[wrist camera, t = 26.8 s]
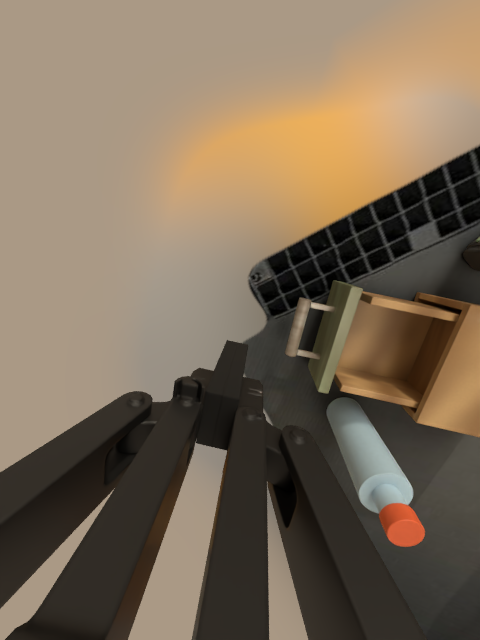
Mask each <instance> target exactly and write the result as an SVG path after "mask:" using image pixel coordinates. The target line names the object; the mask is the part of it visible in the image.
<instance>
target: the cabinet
mask: <svg viewBox="0 0 480 640" xmlns="http://www.w3.org/2000/svg"><path fill="white" fill-rule="evenodd" d="M414 302H418V303H423V304H428V305H432V306H437V307H441V308H445V309H449V310H452V311H456V312H459V313H461V314H460V316H459V318H458V321H457V323H456V325H455V327H454V329H453V332H452V334H451V336H450V338H449V340H448V343H447V345H446V347H445V349H444V351H443V354H442V356H441V358H440V360H439V362H438V365H437V367H436V369H435V371H434V373H433V375H432V378H431V380H430V382H429V384H428V386H427V389H426V391H425V393H424V395H423V397H422V400H421V402H420V404H419V406H418V408H414V407H409V406H405V405H401V406H402V407H403V409H404V410H405V411H406V412H407V413H408V414H409V415H410V416H411V417H412V418H413V420H414V421H415V422H416V423H419V424H424V425H428V426H432V427H437V428H441V429H446V430H450V431H454V432H459V433H463V434H468V435H472V436H477V437H480V305H478V304H474V303H469V302H464V301H459V300H454V299H449V298H444V297H439V296H434V295H429V294H424V293H419V292H417V294H416V296H415V299H414Z"/></svg>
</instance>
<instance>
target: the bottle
mask: <svg viewBox="0 0 480 640" xmlns="http://www.w3.org/2000/svg"><path fill="white" fill-rule="evenodd" d="M326 413H327V417H328V420H329V422H330V425H331V428H332V430H333V433H334V435H335V438H336V440H337V443H338V445H339V448H340V451H341V453H342V456H343V458H344V461H345V463H346V466H347V468H348V471H349V473H350V476H351V479H352V481H353V484H354V486H355V489H356V491H357V494H358V496H359V499H360V501H361V503H362V504H363V505H364V506H365V507H366V508H367V509H369V510H371V511H373V512H376V513H379V519H380V521H381V524H382V526H383V528H384V531H385V533H386V535H387V537H388V539H389V540H390V541H391V542H392V543H393V544H395V545H398V546H402V547H409V546H414V545H416V544H418V543H420V542H421V541H422V540H423V538H424V536H425V530H424V527H423V526H422V524H421V522H420V521H419V519H418V517H417V516H416V514H415V512H414V510H413V509H412V508H411V507H409V506H408V505H409V503H410V502H411V500H412V498H413V488H412V486H411V484H410V483H409V481H408V479H407V478H406V476H405V475H404V473H403V472H402V470H401V469H400V467H399V465H398V464H397V462H396V461H395V459H394V458H393V456H392V455H391V453H390V451H389V450H388V448H387V447H386V445H385V444H384V442H383V441H382V439H381V437H380V436H379V434H378V433H377V431H376V430H375V428H374V427H373V425H372V423H371V422H370V420H369V419H368V417H367V416H366V414H365V413H364V411H363V409H362V408H361V406H360V405H359V403H358V402H357V401H355V400H354V399H352V398H348V397H341V398H337V399H335V400H333V401H332V402H331V403H330V404H329V405H328V407H327V412H326Z"/></svg>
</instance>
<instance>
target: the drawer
mask: <svg viewBox="0 0 480 640" xmlns="http://www.w3.org/2000/svg"><path fill="white" fill-rule="evenodd" d="M309 308H314V309H319V310H324V314H323V317H322V320H321V324H320V327H319V330H318V334H317V337H316V341H315V344H314V347H313V351H312V352H309V351H304V350H300V349H298V347H299V344H300V340H301V336H302V333H303V329H304V326H305V322H306V319H307V315H308V311H309ZM460 314H461V313H459V312H456V311H452V310H449V309H445V308H441V307H437V306H432V305H428V304H423V303H418V302H413V301H408V300H403V299H398V298H393V297H389V296H384V295H379V294H374V293H369V292H364V291H363V289H362V288H360V287H356V286H353V285H350V284H347V283H344V282H340V281H335V280H334V281H333V283H332V287H331V290H330V293H329V297H328V300H327V304H326V305H324V304H319V303H314V302H311V300H309V299H305V298H299V301H298V305H297V309H296V312H295V316H294V320H293V324H292V327H291V331H290V335H289V339H288V343H287V346H286V350H285V354H286V355H288V356H291V357H295V356H296V354H297V355H300V356H304V357H309V358H310V361H309V364H308V368H309V370H310V373H311V375H312V378H313V380H314V383H315V385H316V388H317V390H318V392H322V393H326V394H328V393H329V390H330V387H331V384H332V381H333V379H334V381H335V383H336V384H337V386H338V388H339V390H340V391H342V392H347V393H351V394H356V395H360V396H365V397H369V398H374V399H378V400H383V401H387V402H391V403H396V404H400V405H405V406H409V407H414V408H418V406H419V404H420V402H421V400H422V397H423V395H424V393H425V391H426V389H427V386H428V384H429V382H430V380H431V378H432V375H433V373H434V371H435V369H436V367H437V365H438V362H439V360H440V358H441V356H442V354H443V351H444V349H445V347H446V345H447V343H448V340H449V338H450V336H451V334H452V332H453V329H454V327H455V325H456V323H457V321H458V318H459V316H460Z"/></svg>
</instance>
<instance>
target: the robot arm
mask: <svg viewBox="0 0 480 640" xmlns="http://www.w3.org/2000/svg"><path fill="white" fill-rule="evenodd" d="M247 350H248V345H246V344H242V343H237V342H233V341H228V340H227V342H226V344H225V346H224V349H223V351H222V353H221V356H220V358H219V360H218V363H217V365H216V368H215V370H214V371H211V370H206V369H201V368H198V369H197V370H195V371H193V373H192V375H191V377H189V376H187V377H181V378H178V379H177V380H176V381H175V384H174V391H173V398H172V399H171V401H168V402H152V397H151V395H149V394H147V393H144V392H139V391H138V392H137V391H134V392H129V393H127V394H124V395H123V396H121V397H119V398H118V399H116V400H114V401H113V402H111V403H110V404H108V405H107V406H105V407H103V408H102V409H100V410H99V411H97V412H95V413H94V414H92V415H91V416H89V417H88V418H86V419H84V420H83V421H81V422H80V423H78V424H76V425H75V426H73V427H72V428H70V429H69V430H67V431H65V432H64V433H62V434H61V435H59V436H57V437H56V438H54V439H53V440H51V441H50V442H48V443H46V444H45V445H43V446H42V447H40V448H39V449H37V450H35V451H34V452H32V453H31V454H29V455H28V456H26V457H24V458H23V459H21V460H20V461H18V462H16V463H15V464H13V465H12V466H10V467H8V468H7V469H5V470H4V471H2V472H0V608H1V607H2V606H3V605H4V604H5V603H6V602H7V601H8V600H9V599H10V598H11V597H12V595H14V594H15V593H16V591H17V590H18V589H19V588H20V587H21V586H22V585H23V584H24V583H25V582H26V581H27V580H28V579H29V578H30V577H31V576H32V575H33V574H34V573H35V572H36V570H37V569H38V568H39V567H40V566H41V565H42V564H43V563H44V562H45V561H46V560H47V559H48V558H49V557H50V556H51V555H52V554H53V553H54V552H55V550H56V549H57V548H58V547H59V546H60V545H61V544H62V543H63V542H64V541H65V540H66V539H67V538H68V537H69V536H70V535H71V534H72V532H73V531H74V530H75V529H76V528H77V527H78V526H79V525H80V524H81V523H82V522H83V521H84V520H85V519H86V518H87V517H88V516H89V515H90V513H92V511H93V510H94V509H95V508H96V507H97V506H98V505H99V504H100V503H101V502H102V501H103V500H104V499H105V498H106V497H107V496H108V495H109V494H110V492H111V491H112V490H113V489H114V488H115V487H116V488H115V489H114V491H113V492H112V494H111V495H110V497H109V499H108V500H107V502H106V503H105V505H104V507H103V508H102V510H101V511H100V513H99V514H98V516H97V518H96V519H95V521H94V522H93V524H92V526H91V527H90V529H89V530H88V532H87V533H86V535H85V537H84V538H83V540H82V541H81V543H80V545H79V546H78V548H77V549H76V551H75V552H74V554H73V555H72V557H71V559H70V560H69V562H68V563H67V565H66V566H65V568H64V570H63V571H62V573H61V574H60V576H59V577H58V579H57V581H56V582H55V584H54V585H53V587H52V589H51V590H50V592H49V593H48V595H47V596H46V598H45V600H44V601H43V603H42V604H41V606H40V607H39V609H38V610H37V611H36V613H35V614H34V616H33V617H32V618H31V619H30V620H29V621H28V622H27V623H24V624H23V625H21V626H19V627H17V628H16V629H15V630H14V631H13V632H12V633H11V634H10V635H9V636H8V637H7V638H6V639H5V640H128V637H129V634H130V631H131V628H132V626H133V623H134V620H135V617H136V614H137V611H138V608H139V606H140V603H141V600H142V597H143V594H144V591H145V589H146V586H147V583H148V580H149V577H150V574H151V571H152V569H153V565H154V563H155V560H156V557H157V554H158V552H159V549H160V546H161V543H162V540H163V537H164V534H165V532H166V529H167V526H168V523H169V520H170V517H171V514H172V512H173V509H174V506H175V503H176V500H177V497H178V495H179V492H180V488H181V486H182V483H183V480H184V477H185V475H186V472H187V469H188V466H189V463H190V460H191V457H192V455H193V450H194V446H195V442H196V443H198V444H202V445H206V446H211V447H215V448H219V449H224V450H227V455H226V460H225V464H224V468H223V475H222V481H221V486H220V492H219V497H218V503H217V508H216V513H215V518H214V524H213V529H212V534H211V540H210V545H209V550H208V556H207V561H206V566H205V572H204V577H203V583H202V588H201V593H200V598H199V604H198V610H197V614H196V620H195V625H194V631H193V636H192V640H269V605H268V602H269V601H268V540H267V539H268V533H267V481H268V489H269V493H270V496H271V500H272V503H273V508H274V511H275V515H276V519H277V523H278V526H279V530H280V534H281V538H282V542H283V545H284V549H285V553H286V557H287V560H288V564H289V568H290V572H291V576H292V579H293V583H294V587H295V591H296V594H297V598H298V601H299V606H300V609H301V613H302V617H303V621H304V624H305V628H306V632H307V636H308V640H427V638H426V636H425V635H424V633H423V631H422V629H421V628H420V626H419V624H418V622H417V621H416V619H415V617H414V615H413V614H412V612H411V610H410V608H409V606H408V605H407V603H406V601H405V599H404V598H403V596H402V594H401V592H400V591H399V589H398V587H397V585H396V583H395V582H394V580H393V578H392V576H391V575H390V573H389V571H388V569H387V568H386V566H385V564H384V562H383V561H382V559H381V557H380V555H379V553H378V552H377V550H376V548H375V546H374V545H373V543H372V541H371V539H370V538H369V536H368V534H367V532H366V530H365V529H364V527H363V525H362V523H361V522H360V520H359V518H358V516H357V515H356V513H355V511H354V509H353V508H352V506H351V504H350V502H349V500H348V499H347V497H346V495H345V493H344V492H343V490H342V488H341V486H340V485H339V483H338V481H337V479H336V477H335V476H334V474H333V472H332V470H331V469H330V467H329V465H328V463H327V462H326V460H325V458H324V456H323V454H322V453H321V451H320V449H319V447H318V446H317V444H316V442H315V440H314V439H313V437H312V436H311V435H310V433H309V432H307V431H306V430H305V429H303V428H300V427H298V426H293V425H290V426H286V427H284V428H283V430H280V429H277V428H275V427H274V426H272V425H271V424H269V423H268V422H267V421H266V417H265V414H264V413H263V385H262V384H261V382H260V381H259V380H255V379H250V378H246V377H243V374H244V368H245V362H246V356H247ZM196 439H197V441H196Z"/></svg>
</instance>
